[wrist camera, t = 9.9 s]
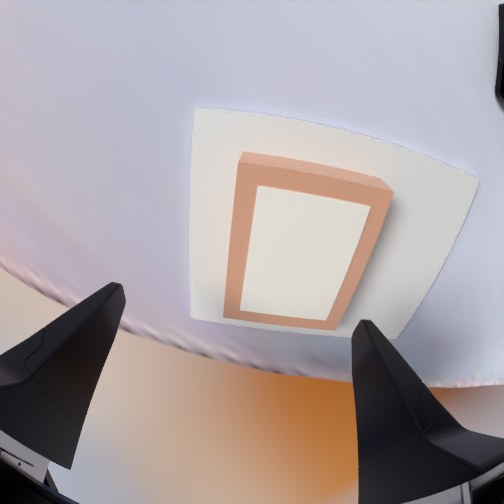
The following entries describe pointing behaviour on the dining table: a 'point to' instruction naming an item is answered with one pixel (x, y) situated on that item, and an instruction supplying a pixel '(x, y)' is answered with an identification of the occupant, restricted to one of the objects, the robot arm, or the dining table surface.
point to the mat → (341, 156)
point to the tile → (299, 240)
